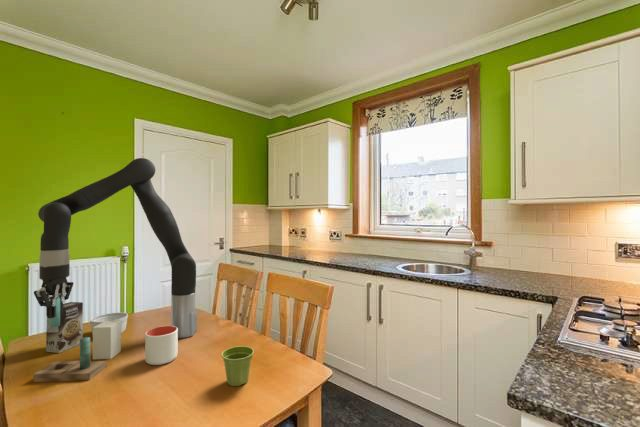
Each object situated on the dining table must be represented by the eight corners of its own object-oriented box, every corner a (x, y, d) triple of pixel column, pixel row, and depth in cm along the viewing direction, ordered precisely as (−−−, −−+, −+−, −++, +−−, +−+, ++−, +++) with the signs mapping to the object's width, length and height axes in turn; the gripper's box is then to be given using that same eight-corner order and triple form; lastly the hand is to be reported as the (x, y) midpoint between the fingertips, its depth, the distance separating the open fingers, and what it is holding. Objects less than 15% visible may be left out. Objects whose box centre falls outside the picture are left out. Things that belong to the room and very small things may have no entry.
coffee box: (59, 353, 112) (59, 308, 112) (45, 352, 113) (45, 307, 113) (83, 343, 121) (83, 302, 121) (70, 342, 122) (70, 301, 122)
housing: (120, 351, 113) (120, 321, 113) (110, 358, 107) (110, 327, 107) (103, 351, 113) (103, 321, 113) (92, 359, 107) (92, 327, 107)
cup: (184, 356, 109) (184, 328, 109) (158, 369, 100) (158, 338, 100) (164, 351, 113) (164, 324, 113) (138, 363, 104) (138, 333, 104)
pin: (62, 324, 103) (62, 297, 103) (55, 327, 100) (55, 299, 100) (54, 324, 103) (54, 297, 103) (47, 327, 100) (47, 299, 100)
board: (106, 367, 102) (106, 333, 102) (89, 379, 94) (89, 343, 94) (80, 367, 101) (80, 334, 101) (61, 380, 93) (62, 344, 93)
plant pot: (227, 373, 98) (227, 345, 98) (257, 373, 97) (257, 345, 97) (216, 389, 88) (216, 359, 88) (249, 390, 88) (249, 359, 88)
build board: (80, 367, 101) (80, 360, 101) (61, 380, 93) (61, 372, 93) (54, 368, 100) (54, 361, 100) (33, 381, 92) (33, 373, 92)
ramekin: (120, 325, 140) (120, 310, 141) (133, 331, 133) (133, 315, 133) (85, 334, 130) (85, 318, 130) (97, 342, 122) (97, 324, 122)
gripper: (59, 260, 108) (59, 310, 108) (23, 267, 94) (23, 324, 94) (81, 260, 108) (81, 309, 108) (49, 266, 95) (49, 323, 95)
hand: (54, 316), depth 101 cm, fingers closed on pin, 2 cm apart
